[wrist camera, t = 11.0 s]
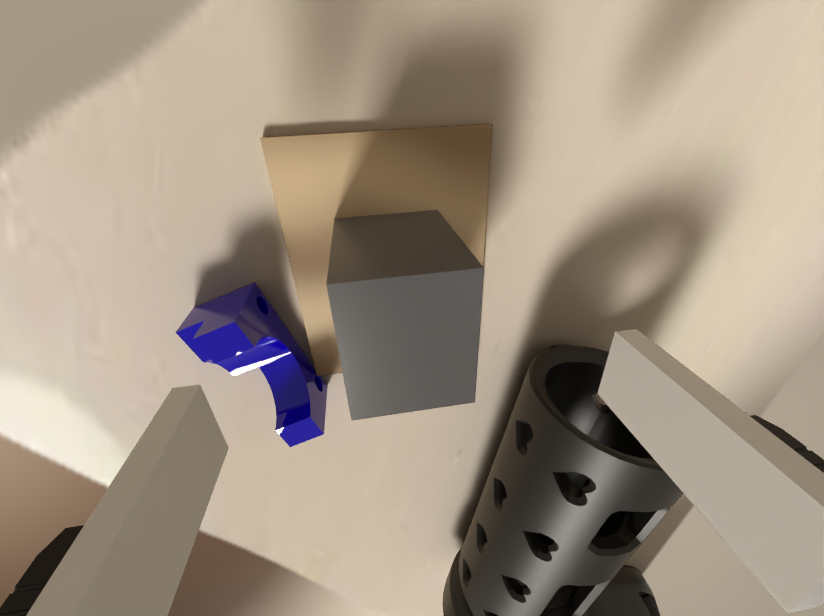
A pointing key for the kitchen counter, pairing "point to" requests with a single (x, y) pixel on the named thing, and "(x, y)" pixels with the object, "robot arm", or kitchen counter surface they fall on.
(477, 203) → the mat
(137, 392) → the kitchen counter surface
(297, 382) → the cable holder
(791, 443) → the robot arm
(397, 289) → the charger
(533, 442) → the muzzle brake
